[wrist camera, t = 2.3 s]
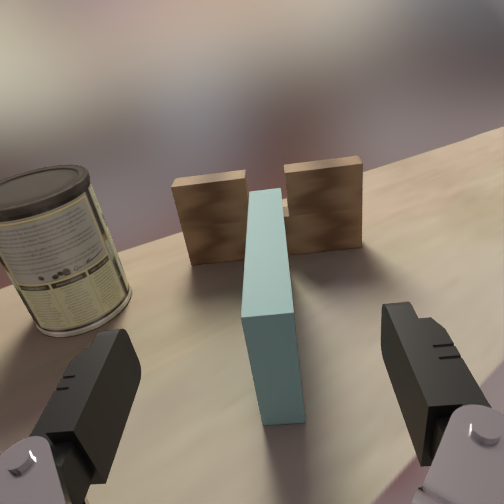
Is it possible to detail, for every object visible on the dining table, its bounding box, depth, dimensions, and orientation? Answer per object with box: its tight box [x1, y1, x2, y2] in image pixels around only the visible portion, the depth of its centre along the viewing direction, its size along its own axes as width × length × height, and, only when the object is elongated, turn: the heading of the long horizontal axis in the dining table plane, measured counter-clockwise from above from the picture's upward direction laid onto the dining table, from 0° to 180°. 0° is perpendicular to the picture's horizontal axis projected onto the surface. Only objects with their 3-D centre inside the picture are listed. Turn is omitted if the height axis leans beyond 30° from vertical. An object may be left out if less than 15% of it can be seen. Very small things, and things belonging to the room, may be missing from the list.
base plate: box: [171, 156, 363, 265], centre depth 44 cm, size 20×2×10 cm, turn 89°
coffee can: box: [0, 165, 132, 337], centre depth 39 cm, size 10×10×14 cm
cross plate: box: [241, 188, 306, 425], centre depth 32 cm, size 3×18×10 cm, turn 179°
